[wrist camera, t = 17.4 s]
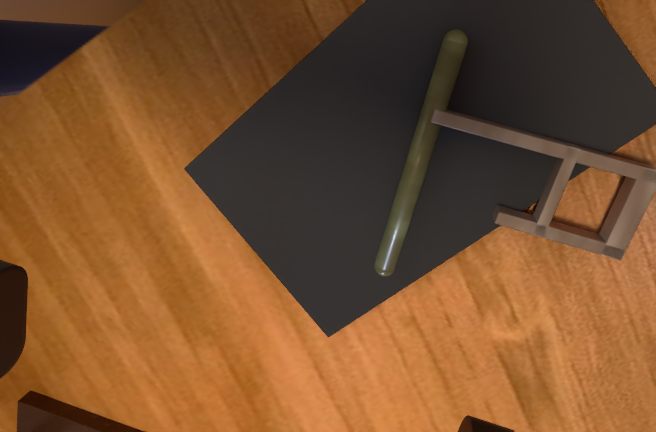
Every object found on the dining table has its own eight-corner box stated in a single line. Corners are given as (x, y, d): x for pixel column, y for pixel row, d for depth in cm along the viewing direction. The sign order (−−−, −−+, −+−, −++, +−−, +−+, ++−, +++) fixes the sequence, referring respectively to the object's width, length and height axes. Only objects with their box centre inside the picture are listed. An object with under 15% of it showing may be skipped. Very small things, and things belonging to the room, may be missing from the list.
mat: (329, 333, 39) (328, 337, 38) (187, 166, 37) (183, 168, 37) (669, 111, 30) (673, 112, 29) (502, -123, 28) (504, -126, 28)
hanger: (447, 26, 29) (704, 92, 27) (446, 26, 30) (690, 89, 29) (370, 276, 34) (580, 343, 33) (373, 267, 36) (574, 330, 34)
